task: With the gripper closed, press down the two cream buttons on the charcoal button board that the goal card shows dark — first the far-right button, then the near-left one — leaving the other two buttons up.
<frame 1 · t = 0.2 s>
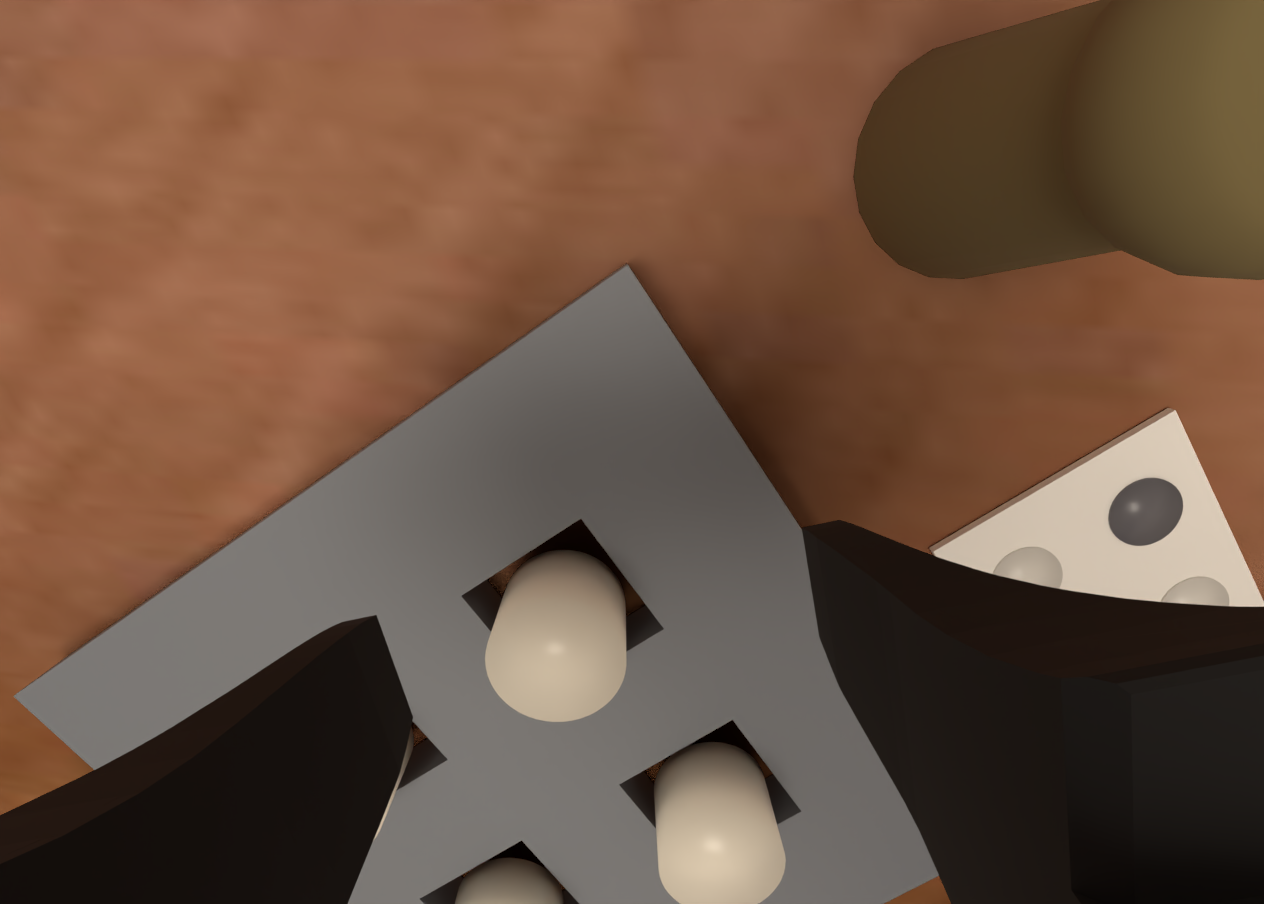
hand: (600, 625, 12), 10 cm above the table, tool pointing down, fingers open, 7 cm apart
goal card: (1103, 588, 23), on the table
board: (541, 729, 24), on the table
olive pawn figure: (962, 165, 19), on the table
button 1: (715, 824, 21), point 3 cm above the table, slide at 0.0 cm
button 4: (337, 770, 20), point 3 cm above the table, slide at 0.0 cm
button 3: (560, 631, 19), point 3 cm above the table, slide at 0.0 cm
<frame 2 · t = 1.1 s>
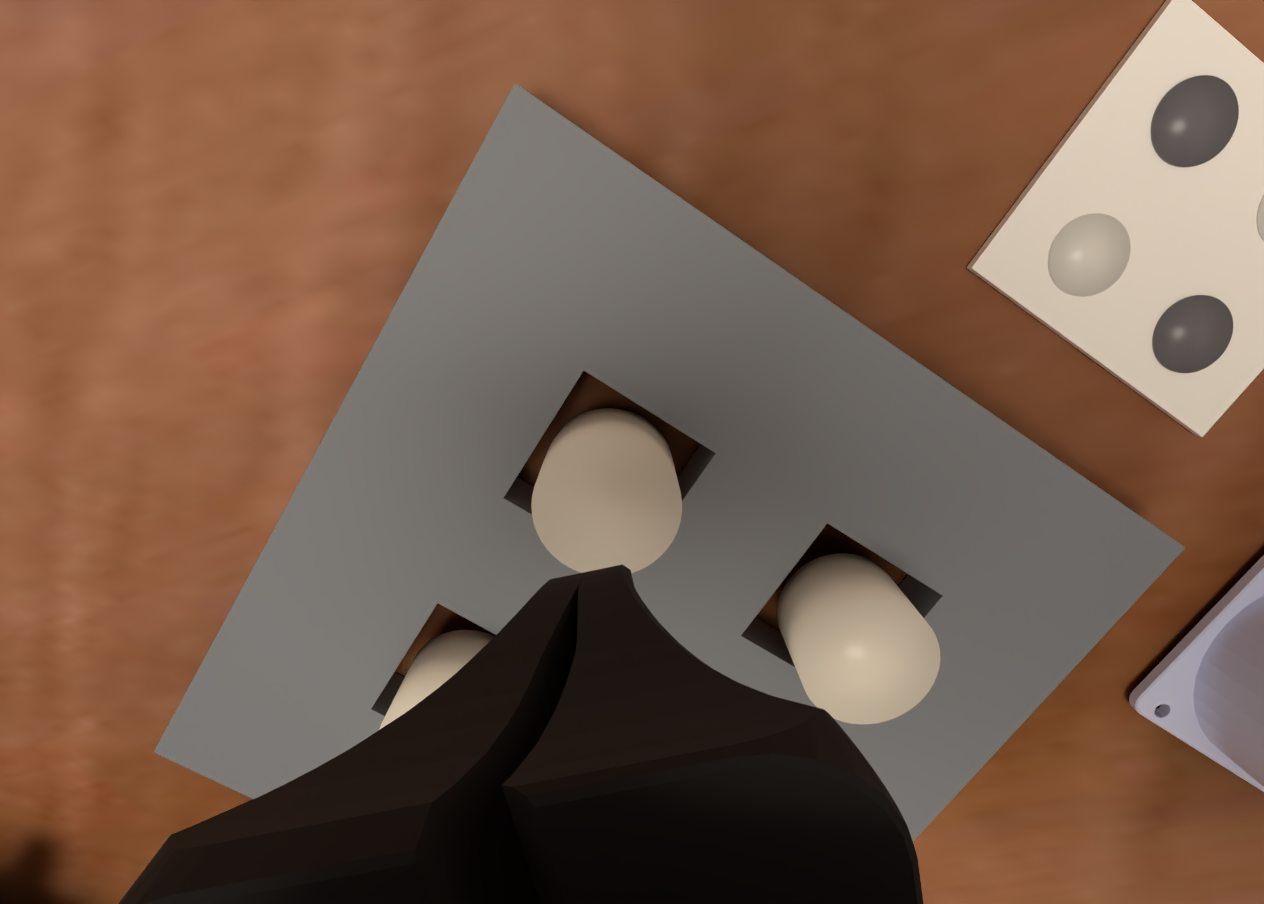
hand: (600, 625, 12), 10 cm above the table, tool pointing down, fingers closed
goal card: (1183, 233, 19), on the table
board: (648, 619, 23), on the table
button 1: (852, 635, 19), point 3 cm above the table, slide at 0.0 cm
button 4: (458, 712, 20), point 3 cm above the table, slide at 0.0 cm
button 3: (608, 488, 18), point 3 cm above the table, slide at 0.0 cm
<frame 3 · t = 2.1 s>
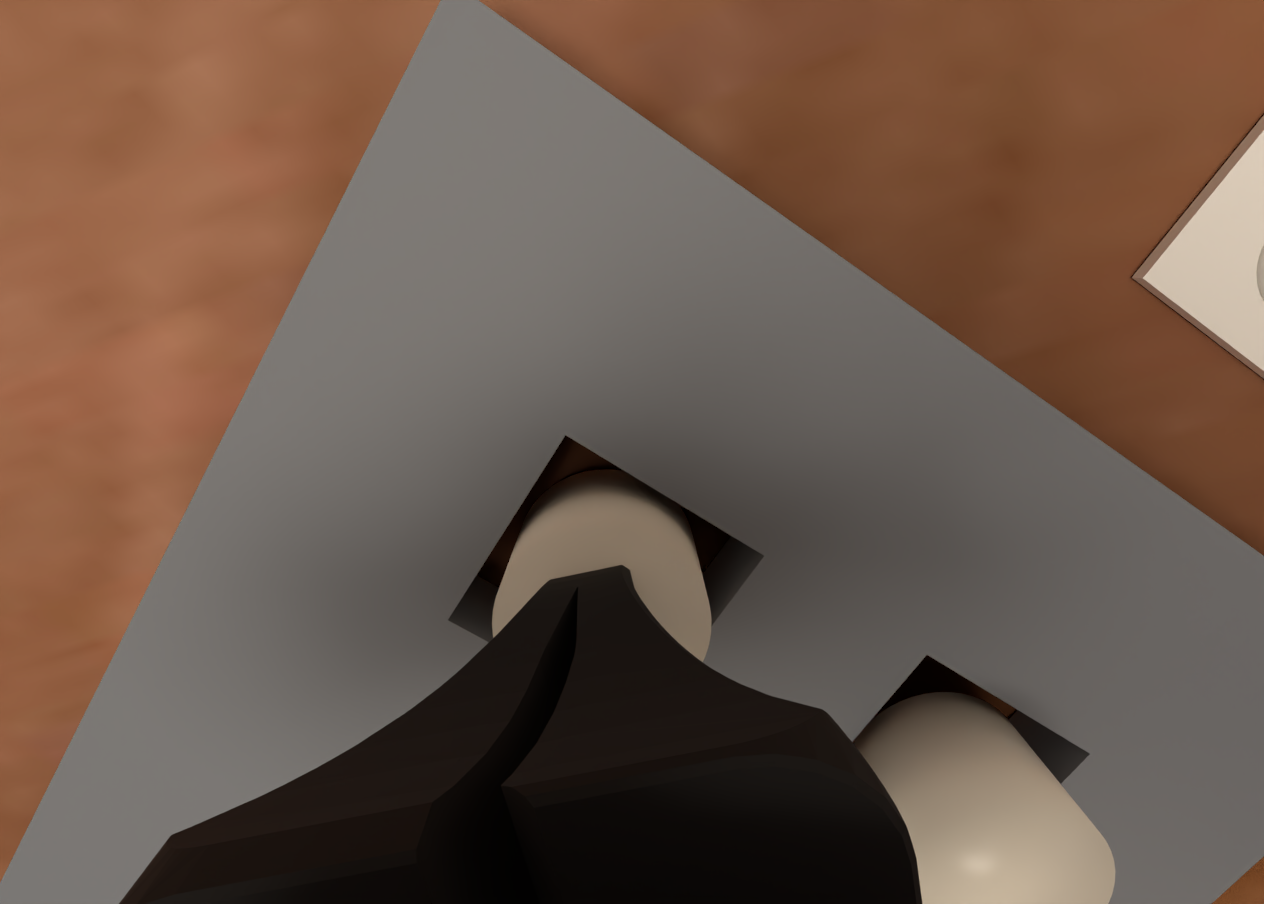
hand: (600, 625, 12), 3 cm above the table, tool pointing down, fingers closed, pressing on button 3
board: (660, 763, 16), on the table
button 1: (965, 822, 13), point 3 cm above the table, slide at 0.0 cm
button 3: (604, 586, 13), point 2 cm above the table, slide at -1.1 cm, touching gripper
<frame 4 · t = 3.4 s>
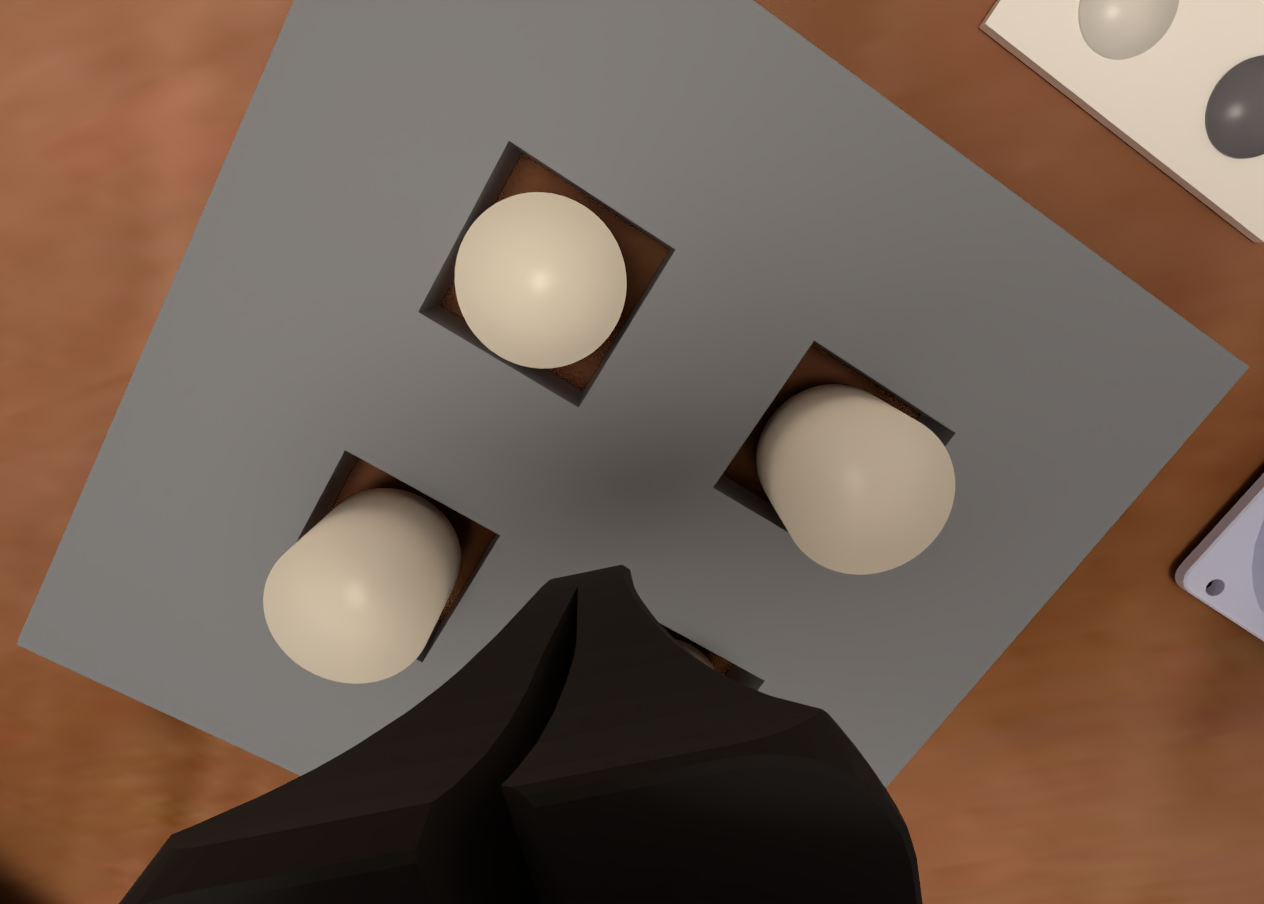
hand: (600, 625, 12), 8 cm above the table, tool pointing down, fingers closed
board: (607, 485, 19), on the table
button 2: (658, 729, 18), point 3 cm above the table, slide at 0.0 cm
button 1: (846, 474, 16), point 3 cm above the table, slide at 0.0 cm
button 4: (371, 580, 16), point 3 cm above the table, slide at 0.0 cm
button 3: (547, 280, 16), point 2 cm above the table, slide at -1.5 cm
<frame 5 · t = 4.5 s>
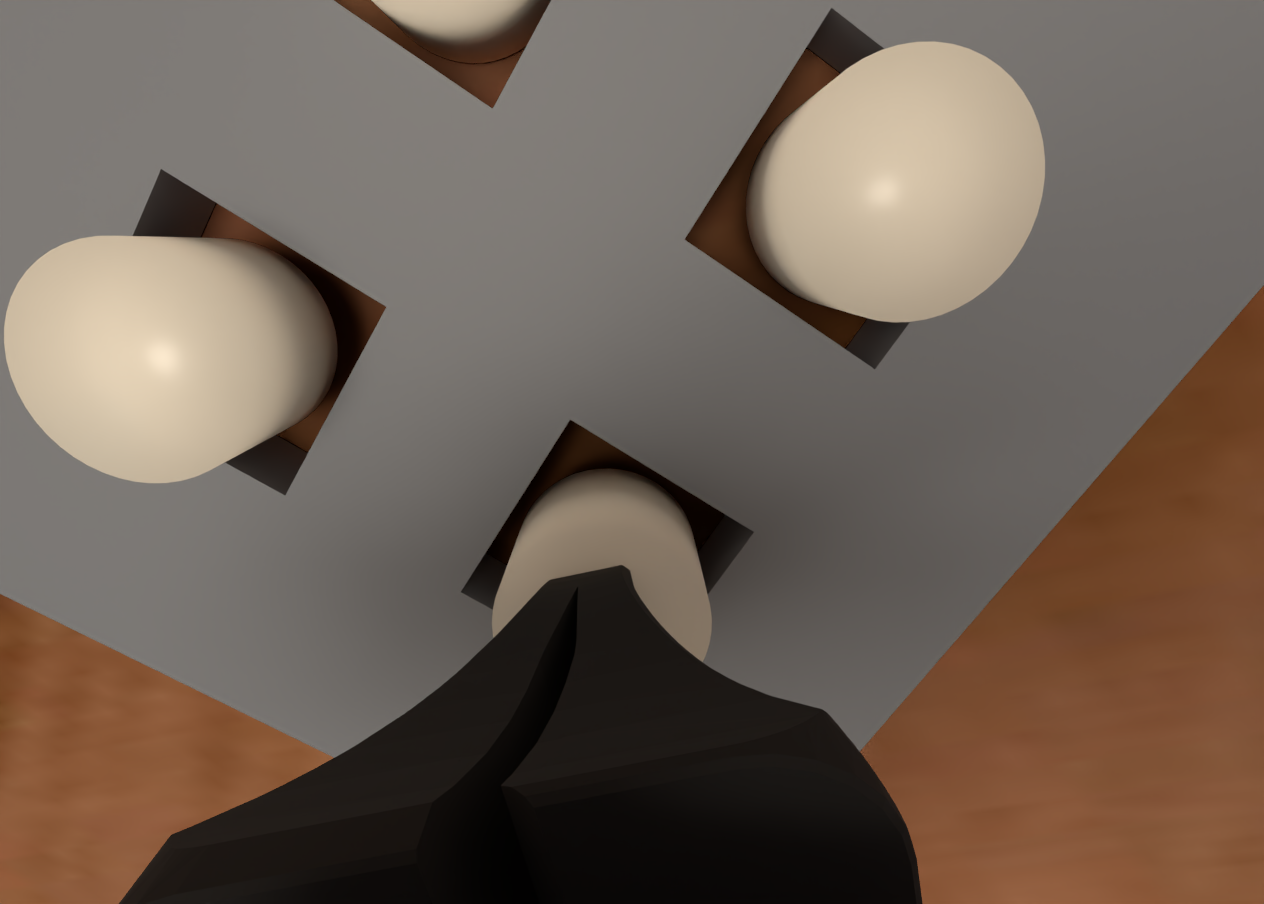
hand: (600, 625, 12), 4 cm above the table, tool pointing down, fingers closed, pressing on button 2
board: (546, 270, 14), on the table
button 2: (604, 585, 13), point 3 cm above the table, slide at -0.1 cm, touching gripper
button 1: (875, 196, 11), point 3 cm above the table, slide at 0.0 cm
button 4: (192, 351, 12), point 3 cm above the table, slide at 0.0 cm
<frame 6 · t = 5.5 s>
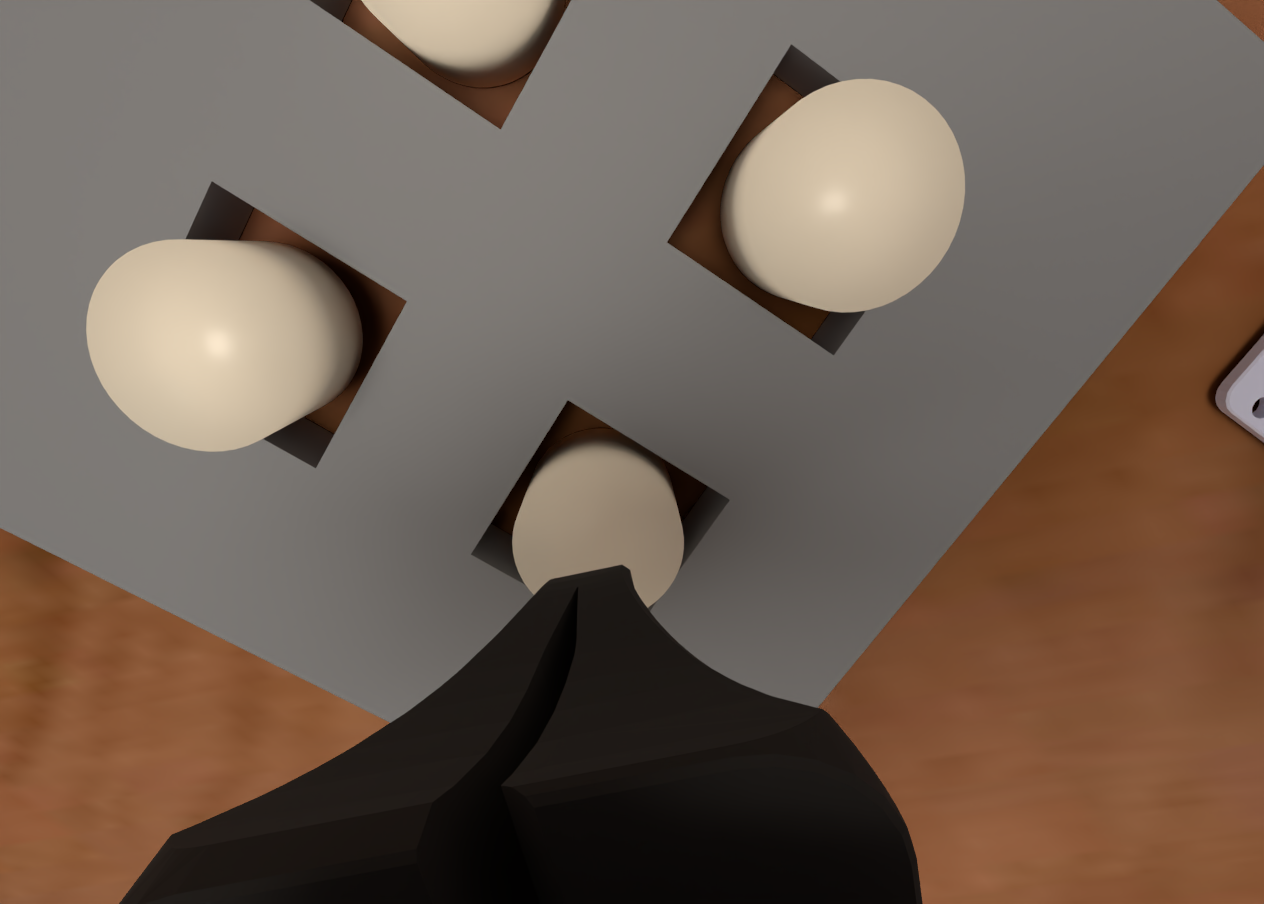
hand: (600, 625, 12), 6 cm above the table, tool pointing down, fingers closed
board: (545, 269, 16), on the table
button 2: (599, 519, 16), point 2 cm above the table, slide at -1.5 cm
button 1: (829, 205, 13), point 3 cm above the table, slide at 0.0 cm
button 4: (240, 339, 13), point 3 cm above the table, slide at 0.0 cm
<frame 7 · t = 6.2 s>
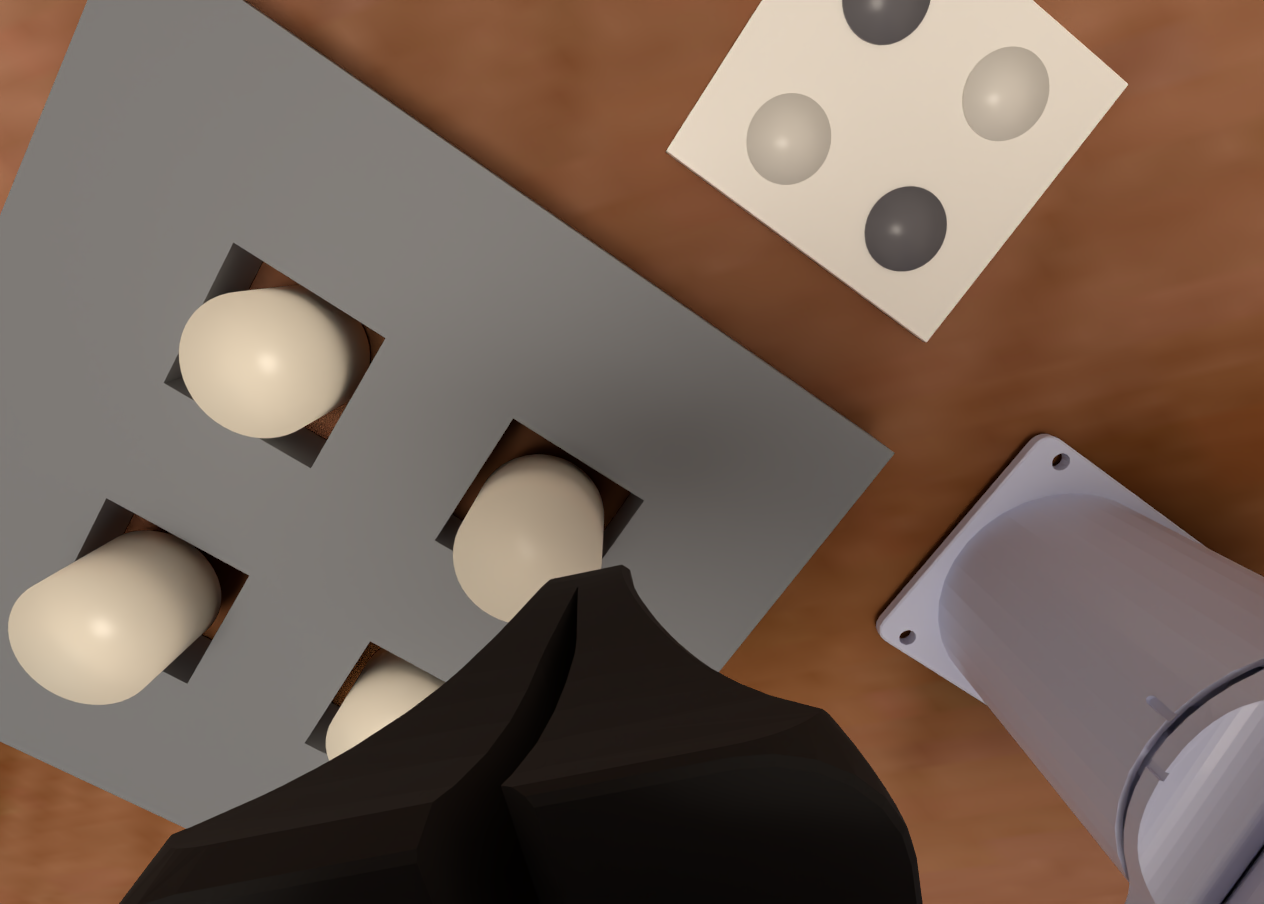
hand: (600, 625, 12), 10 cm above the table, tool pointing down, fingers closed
goal card: (891, 119, 19), on the table
board: (366, 530, 22), on the table
button 2: (403, 716, 22), point 2 cm above the table, slide at -1.5 cm
button 1: (534, 535, 18), point 3 cm above the table, slide at 0.0 cm
button 4: (123, 613, 19), point 3 cm above the table, slide at 0.0 cm
button 3: (282, 357, 18), point 2 cm above the table, slide at -1.5 cm
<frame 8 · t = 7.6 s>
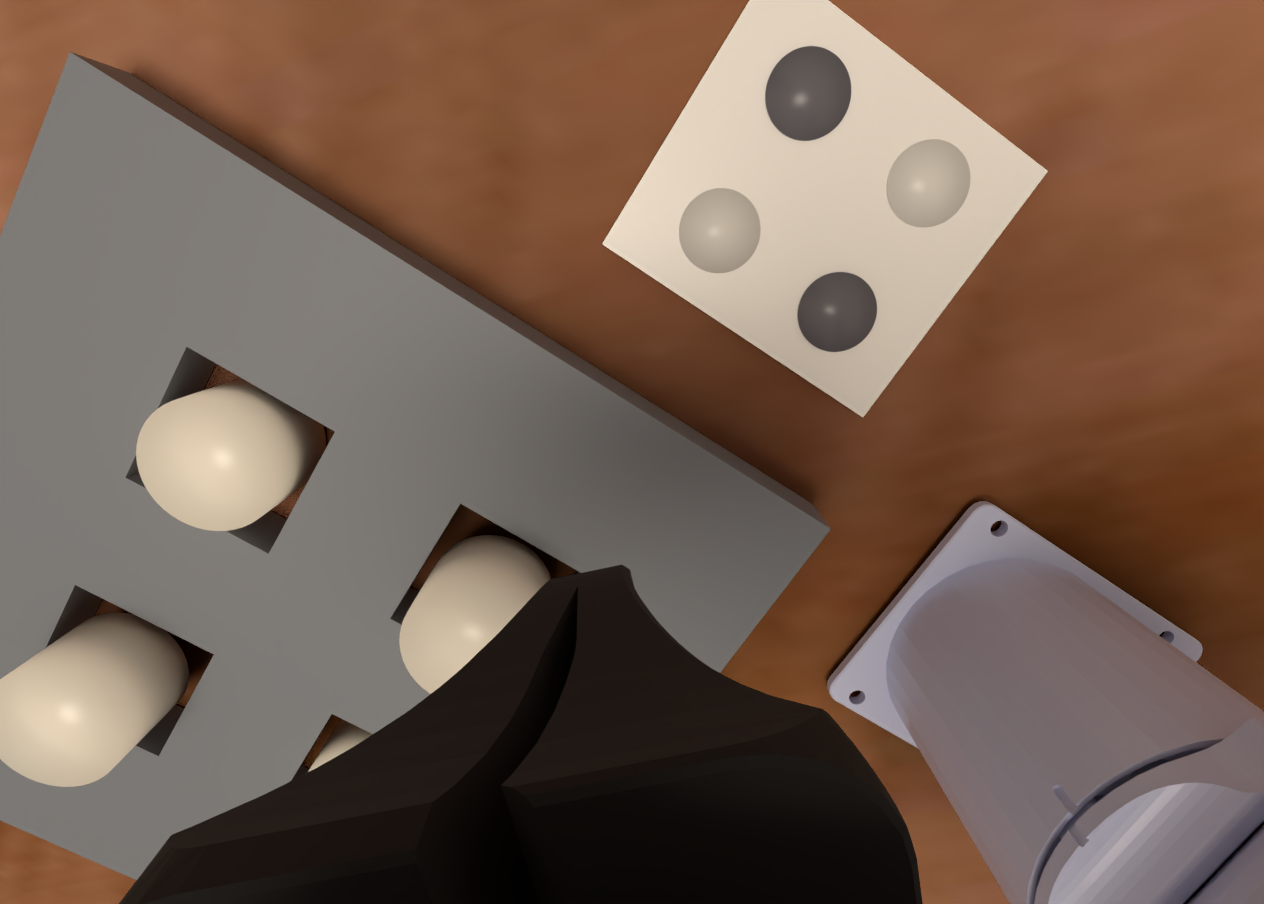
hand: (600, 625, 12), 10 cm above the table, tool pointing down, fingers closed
goal card: (819, 208, 19), on the table
board: (329, 603, 22), on the table
button 2: (368, 782, 22), point 2 cm above the table, slide at -1.5 cm
button 1: (482, 616, 19), point 3 cm above the table, slide at 0.0 cm
button 4: (92, 695, 20), point 3 cm above the table, slide at 0.0 cm
button 3: (238, 450, 19), point 2 cm above the table, slide at -1.5 cm
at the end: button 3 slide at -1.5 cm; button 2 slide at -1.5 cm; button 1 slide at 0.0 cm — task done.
